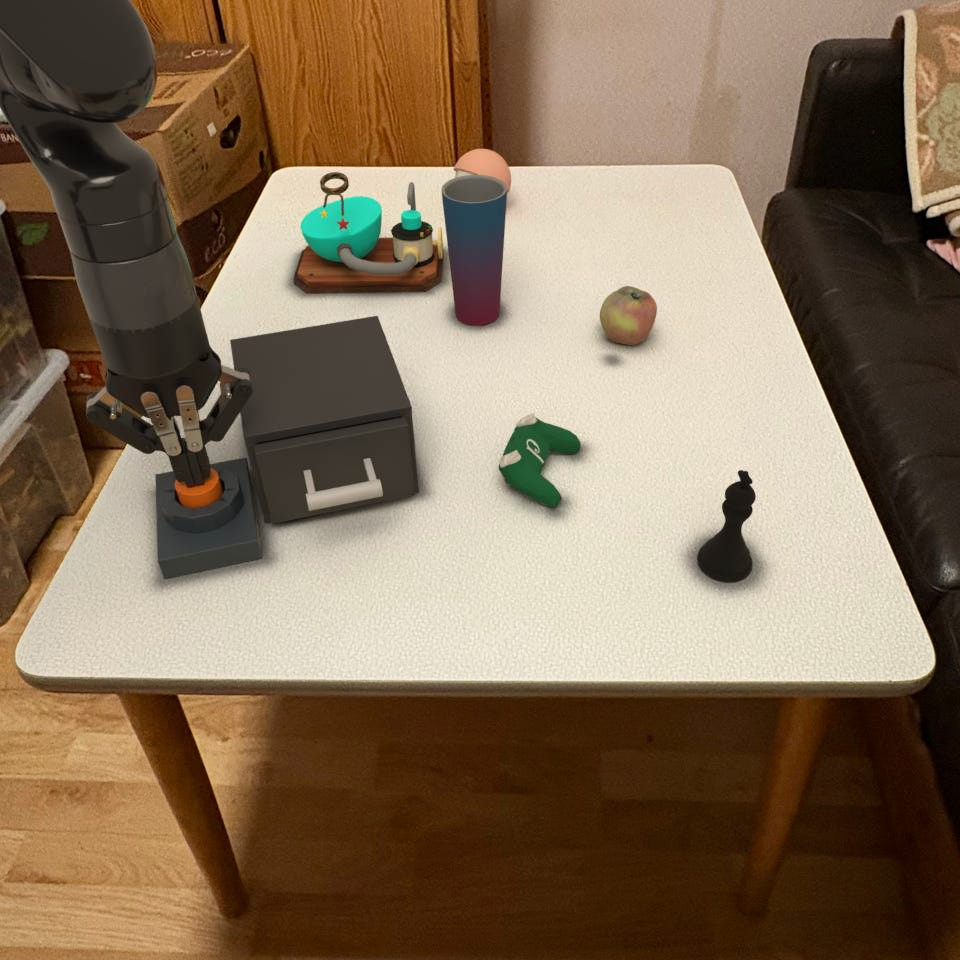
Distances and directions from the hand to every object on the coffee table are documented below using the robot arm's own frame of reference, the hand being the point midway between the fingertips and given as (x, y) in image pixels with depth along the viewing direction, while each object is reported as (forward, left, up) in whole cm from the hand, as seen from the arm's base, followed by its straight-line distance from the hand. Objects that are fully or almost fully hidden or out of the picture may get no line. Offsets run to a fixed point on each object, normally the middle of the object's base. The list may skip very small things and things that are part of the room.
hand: (195, 479), depth 76 cm
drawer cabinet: (+12, +6, -5) cm, 14 cm away
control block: (0, 0, -5) cm, 5 cm away
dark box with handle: (+12, +2, -4) cm, 12 cm away
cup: (+32, +26, -5) cm, 41 cm away
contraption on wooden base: (+22, +39, -5) cm, 45 cm away
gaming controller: (+30, -2, -5) cm, 30 cm away
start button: (0, 0, -2) cm, 2 cm away
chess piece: (+41, -17, -5) cm, 44 cm away
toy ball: (+40, +52, -5) cm, 66 cm away
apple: (+46, +16, -5) cm, 49 cm away
